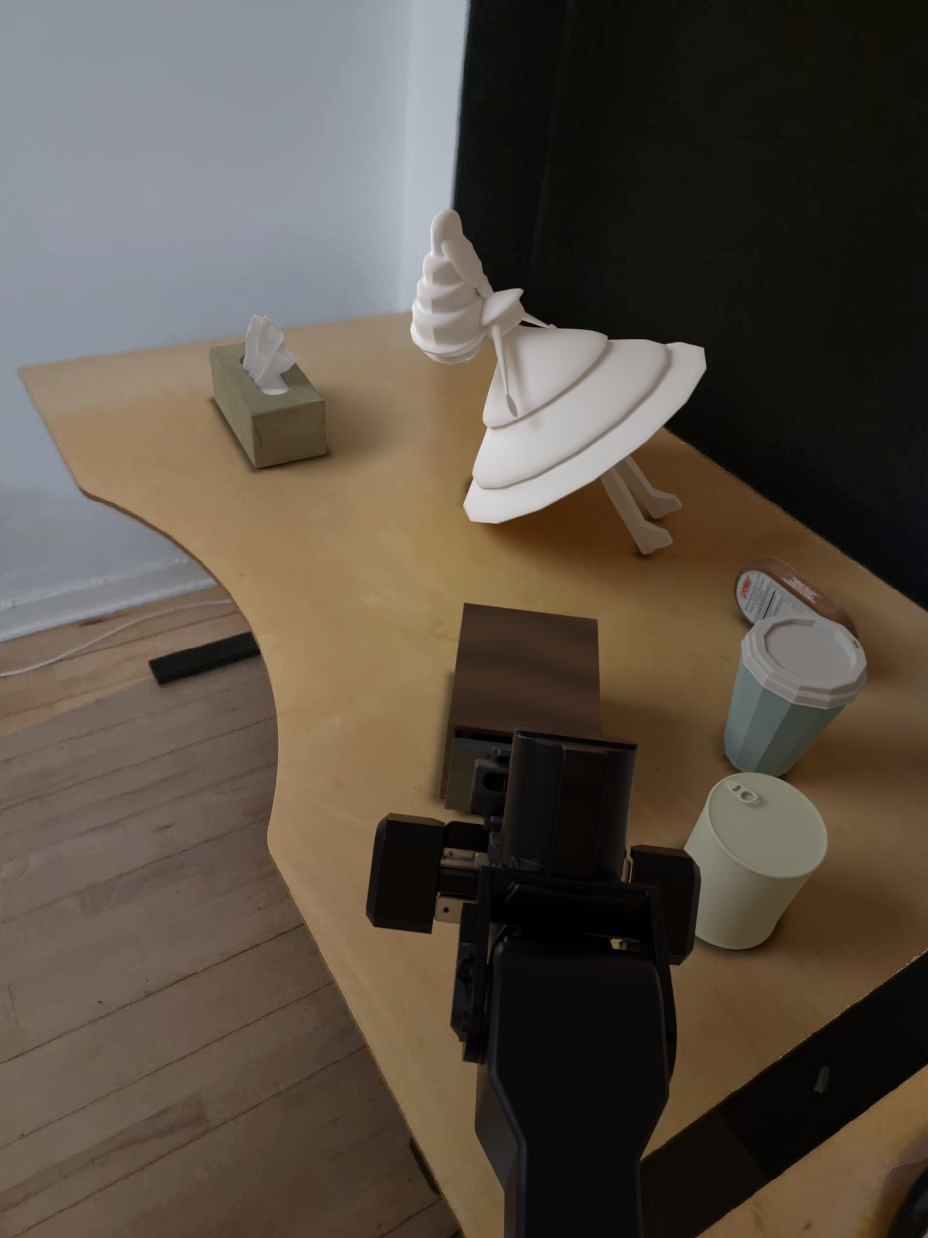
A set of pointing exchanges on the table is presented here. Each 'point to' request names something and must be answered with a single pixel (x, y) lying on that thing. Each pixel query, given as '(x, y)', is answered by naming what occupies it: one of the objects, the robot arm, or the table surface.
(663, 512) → the figurine
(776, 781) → the can
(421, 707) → the table surface
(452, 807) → the drawer
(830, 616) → the tin
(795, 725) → the disposable coffee cup
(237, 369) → the tissue box
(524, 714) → the cabinet
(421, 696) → the table surface
